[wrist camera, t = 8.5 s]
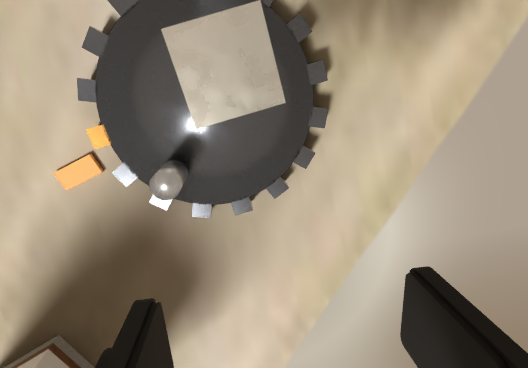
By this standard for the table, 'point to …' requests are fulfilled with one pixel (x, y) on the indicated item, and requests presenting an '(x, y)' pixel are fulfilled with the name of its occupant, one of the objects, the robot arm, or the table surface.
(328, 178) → the table surface
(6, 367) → the banded white pillar
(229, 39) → the sprocket
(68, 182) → the block
